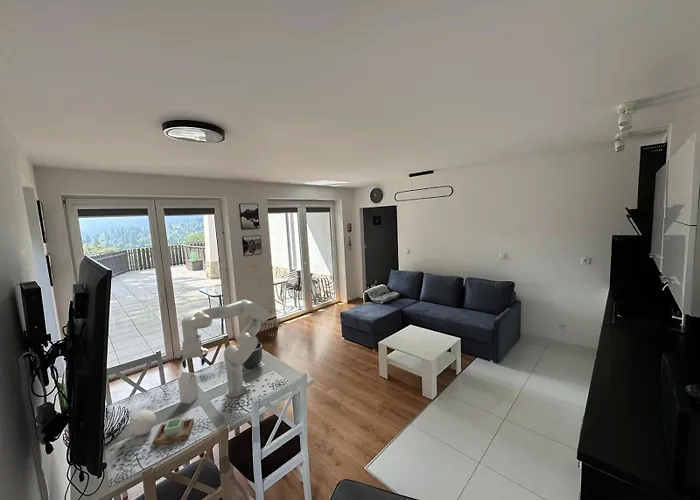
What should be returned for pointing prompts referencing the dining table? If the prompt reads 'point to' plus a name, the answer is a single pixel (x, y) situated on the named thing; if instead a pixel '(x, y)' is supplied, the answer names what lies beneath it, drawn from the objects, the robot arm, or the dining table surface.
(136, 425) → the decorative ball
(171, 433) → the sage bin
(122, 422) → the dining table surface
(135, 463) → the dining table surface
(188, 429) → the walnut crate
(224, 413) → the dining table surface
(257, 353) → the planter
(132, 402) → the dining table surface
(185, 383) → the milk carton
